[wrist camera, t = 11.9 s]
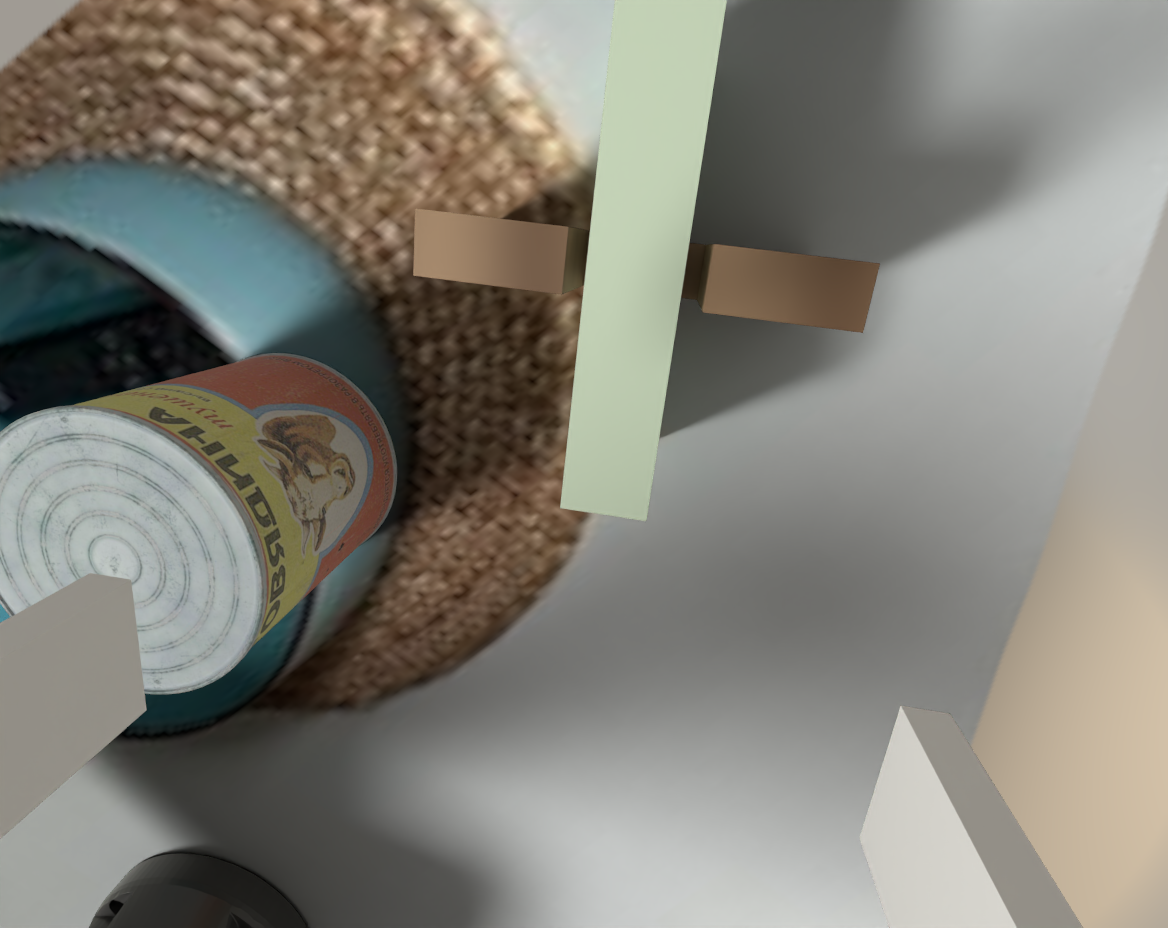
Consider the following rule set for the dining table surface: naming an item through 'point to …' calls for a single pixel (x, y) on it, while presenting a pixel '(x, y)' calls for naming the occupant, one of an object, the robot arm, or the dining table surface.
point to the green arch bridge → (638, 247)
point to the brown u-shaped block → (711, 274)
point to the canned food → (196, 503)
